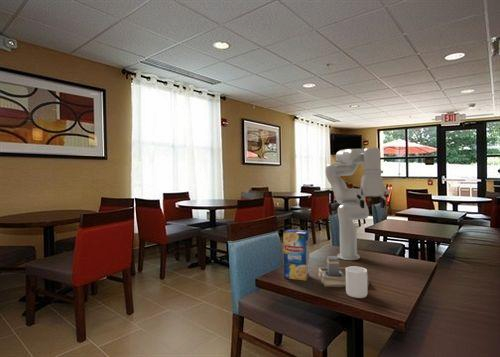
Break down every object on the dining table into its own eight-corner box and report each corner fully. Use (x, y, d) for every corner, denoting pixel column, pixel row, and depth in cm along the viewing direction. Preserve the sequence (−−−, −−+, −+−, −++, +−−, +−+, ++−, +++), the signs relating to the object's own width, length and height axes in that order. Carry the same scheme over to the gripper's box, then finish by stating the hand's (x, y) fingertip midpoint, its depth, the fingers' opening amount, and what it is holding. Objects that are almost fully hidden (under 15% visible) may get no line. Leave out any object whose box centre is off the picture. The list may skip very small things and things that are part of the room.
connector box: (318, 275, 143) (318, 267, 143) (358, 275, 142) (357, 267, 142) (324, 287, 129) (324, 277, 129) (368, 286, 128) (368, 277, 128)
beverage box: (306, 280, 137) (305, 233, 136) (283, 277, 141) (283, 232, 141) (309, 275, 143) (308, 230, 143) (287, 273, 147) (287, 229, 147)
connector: (326, 277, 138) (326, 255, 138) (336, 277, 138) (336, 255, 138) (329, 280, 134) (328, 258, 134) (339, 280, 134) (339, 258, 133)
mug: (345, 286, 129) (345, 262, 129) (366, 288, 126) (365, 264, 126) (346, 297, 118) (345, 271, 117) (368, 299, 115) (367, 273, 115)
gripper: (386, 172, 147) (387, 206, 148) (351, 173, 148) (352, 207, 148) (393, 172, 140) (393, 208, 140) (356, 173, 141) (357, 209, 141)
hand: (372, 207), depth 144 cm, fingers open, 9 cm apart
